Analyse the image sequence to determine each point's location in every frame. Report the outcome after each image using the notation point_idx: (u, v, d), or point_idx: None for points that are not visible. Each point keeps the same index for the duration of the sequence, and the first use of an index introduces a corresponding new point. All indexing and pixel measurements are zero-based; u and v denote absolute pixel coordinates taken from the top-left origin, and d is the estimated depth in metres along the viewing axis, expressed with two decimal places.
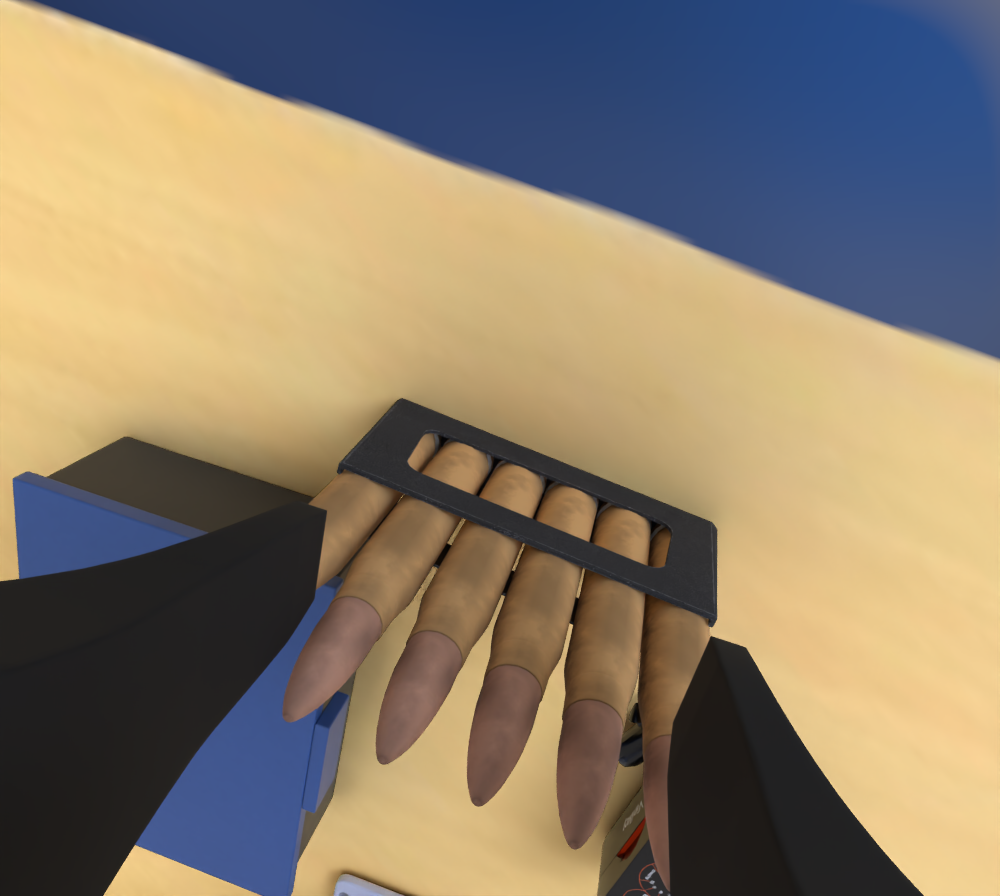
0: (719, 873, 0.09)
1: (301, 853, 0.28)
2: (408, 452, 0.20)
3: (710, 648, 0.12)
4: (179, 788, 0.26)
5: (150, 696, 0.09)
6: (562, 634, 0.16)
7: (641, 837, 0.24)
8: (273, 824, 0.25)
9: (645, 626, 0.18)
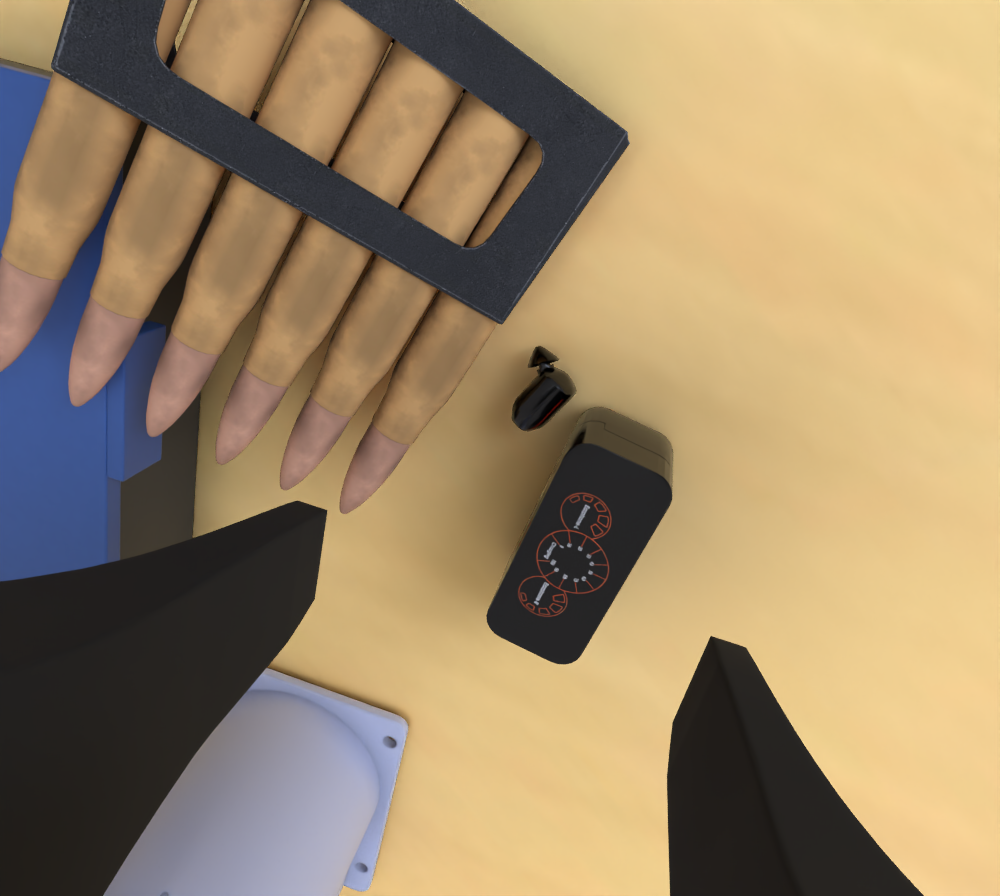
0: (719, 873, 0.09)
1: None
2: (156, 10, 0.13)
3: (710, 647, 0.12)
4: None
5: (150, 696, 0.09)
6: (322, 334, 0.17)
7: (539, 504, 0.19)
8: (77, 507, 0.20)
9: (439, 292, 0.18)
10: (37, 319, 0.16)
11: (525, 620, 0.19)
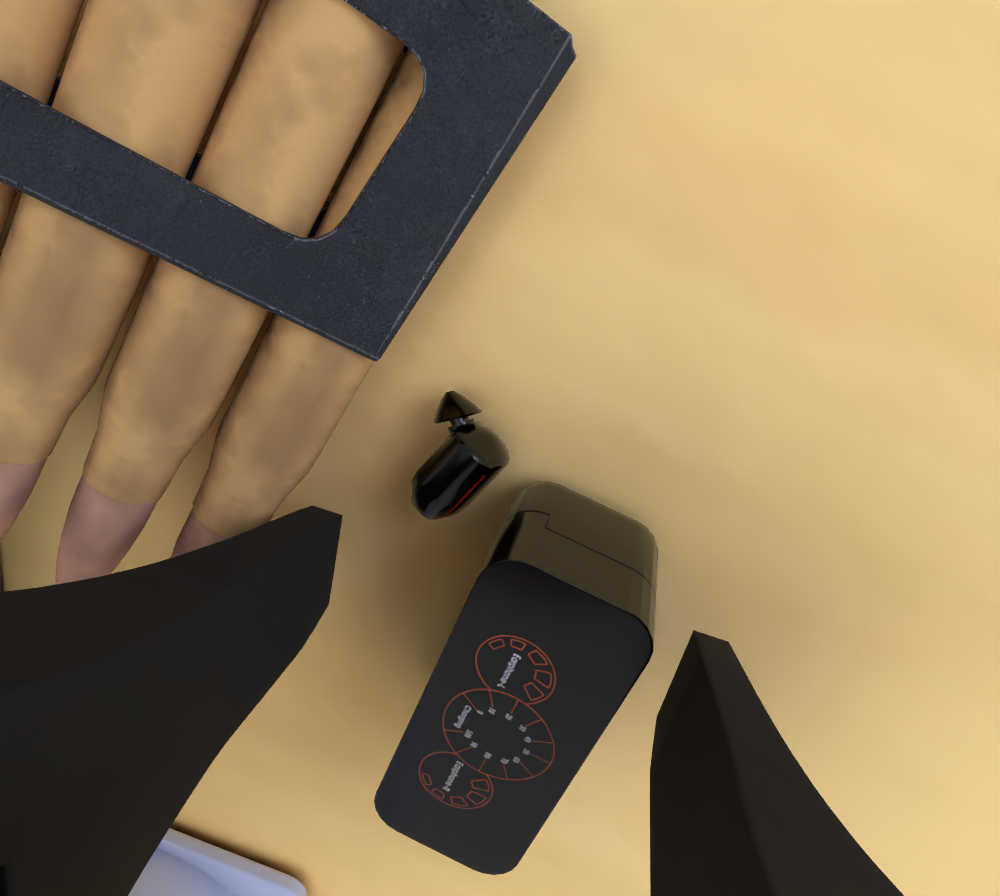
0: (696, 864, 0.09)
1: None
2: None
3: (692, 641, 0.12)
4: None
5: (171, 704, 0.09)
6: (79, 381, 0.10)
7: None
8: None
9: None
10: None
11: (432, 811, 0.13)
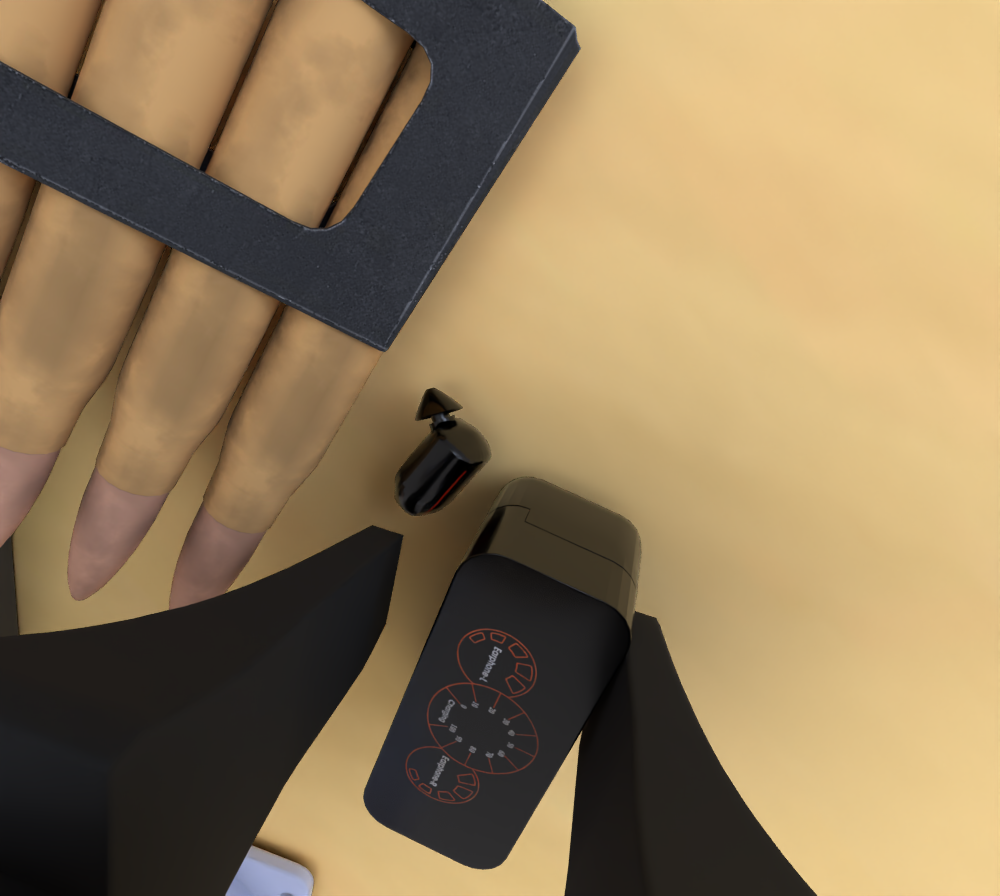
0: (599, 829, 0.09)
1: None
2: None
3: None
4: None
5: (256, 735, 0.09)
6: (92, 371, 0.11)
7: None
8: None
9: None
10: None
11: (420, 806, 0.13)
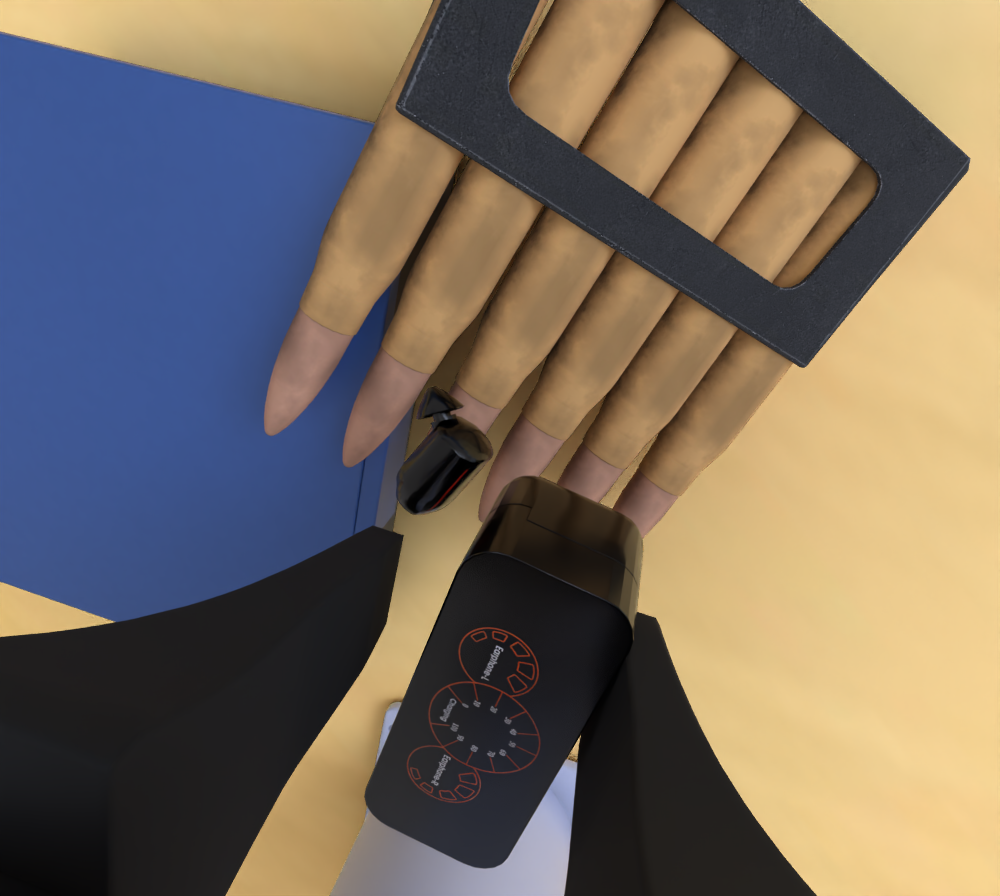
0: (599, 829, 0.09)
1: None
2: (515, 42, 0.12)
3: None
4: (185, 526, 0.19)
5: (256, 735, 0.09)
6: (614, 383, 0.16)
7: None
8: None
9: None
10: (326, 378, 0.15)
11: (421, 806, 0.13)
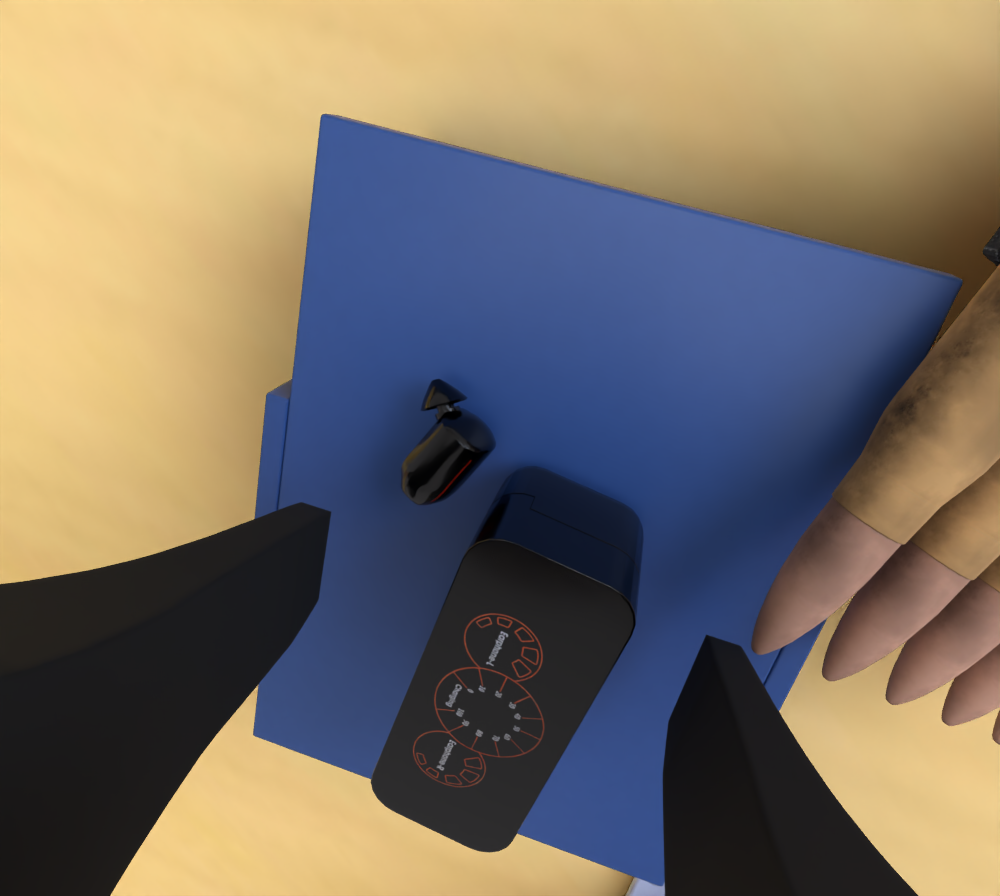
0: (713, 870, 0.09)
1: None
2: None
3: (705, 646, 0.12)
4: None
5: (156, 698, 0.09)
6: None
7: None
8: None
9: None
10: None
11: (427, 790, 0.13)
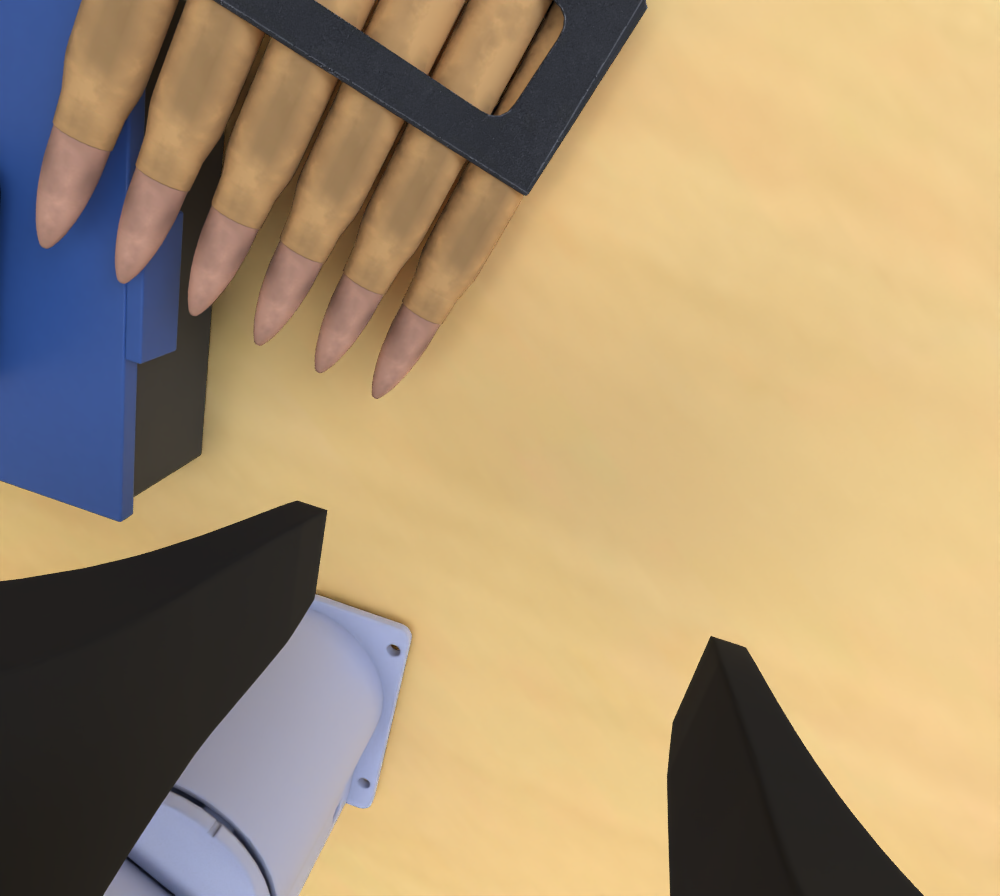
0: (719, 873, 0.09)
1: (149, 481, 0.23)
2: None
3: (710, 647, 0.12)
4: None
5: (150, 696, 0.09)
6: (355, 207, 0.18)
7: None
8: (94, 392, 0.20)
9: (466, 168, 0.18)
10: (86, 191, 0.17)
11: None
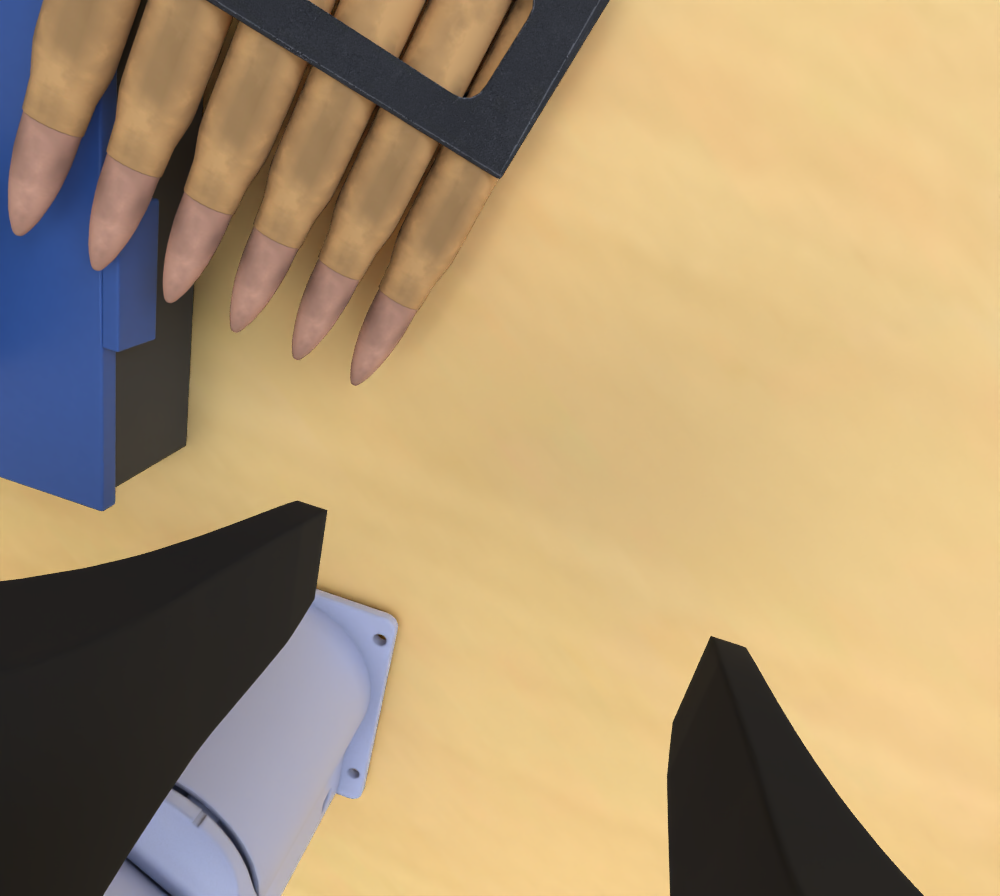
0: (719, 873, 0.09)
1: (131, 471, 0.23)
2: None
3: (710, 648, 0.12)
4: None
5: (150, 696, 0.09)
6: (328, 192, 0.18)
7: None
8: (73, 381, 0.20)
9: (439, 152, 0.18)
10: (58, 178, 0.17)
11: None
